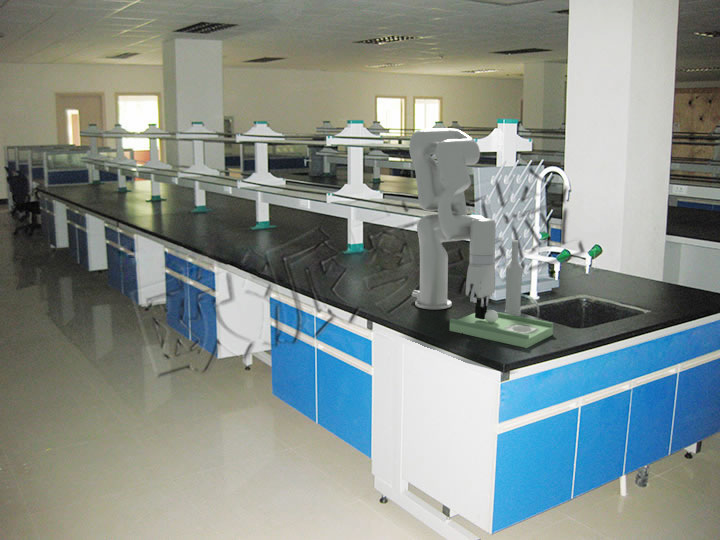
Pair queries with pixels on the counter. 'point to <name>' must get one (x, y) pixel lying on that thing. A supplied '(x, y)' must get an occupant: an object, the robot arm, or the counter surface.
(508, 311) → the bottle
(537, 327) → the putting mat
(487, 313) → the ball
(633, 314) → the counter surface
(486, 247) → the robot arm
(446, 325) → the counter surface
